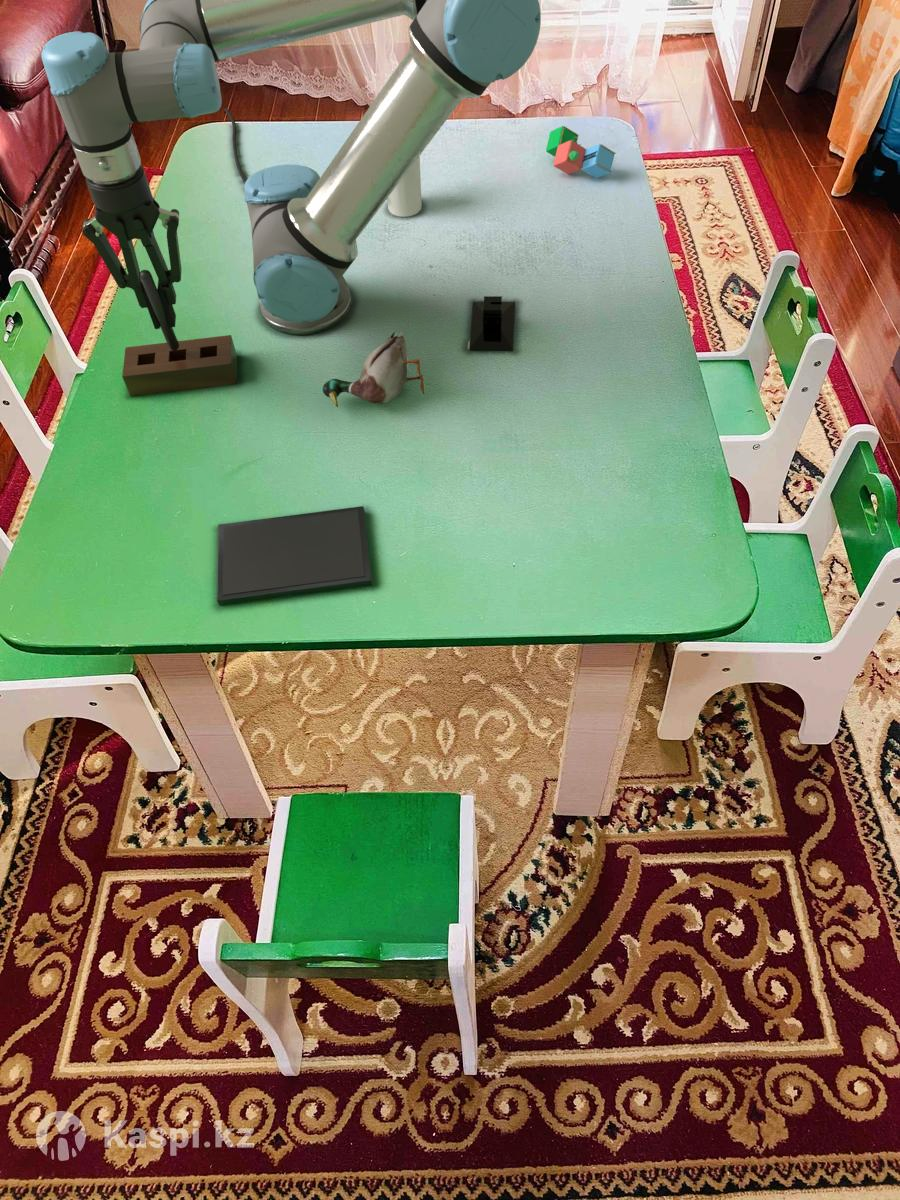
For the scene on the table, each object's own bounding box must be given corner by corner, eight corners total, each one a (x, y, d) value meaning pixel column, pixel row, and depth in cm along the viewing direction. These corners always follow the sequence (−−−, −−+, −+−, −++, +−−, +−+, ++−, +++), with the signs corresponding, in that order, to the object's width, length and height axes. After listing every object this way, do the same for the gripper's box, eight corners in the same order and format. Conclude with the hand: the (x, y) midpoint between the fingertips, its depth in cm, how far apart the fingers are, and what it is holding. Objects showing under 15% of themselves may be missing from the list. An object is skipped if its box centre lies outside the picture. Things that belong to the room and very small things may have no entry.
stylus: (169, 345, 142) (138, 267, 128) (180, 344, 142) (149, 266, 129) (169, 353, 142) (137, 276, 128) (180, 352, 142) (149, 274, 128)
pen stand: (133, 367, 148) (125, 347, 144) (236, 355, 148) (231, 334, 145) (130, 396, 144) (121, 376, 140) (236, 383, 144) (230, 363, 141)
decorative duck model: (313, 388, 134) (324, 319, 142) (326, 425, 140) (335, 357, 148) (415, 379, 132) (420, 310, 140) (424, 417, 138) (427, 348, 146)
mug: (416, 194, 174) (412, 131, 164) (427, 213, 170) (423, 149, 160) (365, 206, 172) (358, 143, 163) (375, 225, 169) (368, 161, 159)
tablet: (220, 530, 127) (217, 523, 126) (364, 511, 128) (363, 505, 127) (218, 605, 119) (216, 600, 118) (372, 585, 120) (371, 579, 119)
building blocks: (570, 188, 182) (611, 173, 171) (539, 170, 177) (578, 154, 167) (580, 149, 181) (621, 132, 171) (548, 130, 177) (589, 111, 167)
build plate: (513, 352, 146) (513, 328, 143) (467, 351, 147) (466, 328, 143) (515, 303, 154) (515, 279, 150) (471, 302, 154) (470, 278, 150)
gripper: (52, 192, 116) (114, 343, 135) (168, 180, 117) (214, 332, 136) (59, 161, 120) (118, 312, 140) (171, 149, 121) (214, 301, 140)
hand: (165, 322), depth 138 cm, fingers closed on stylus, 1 cm apart
